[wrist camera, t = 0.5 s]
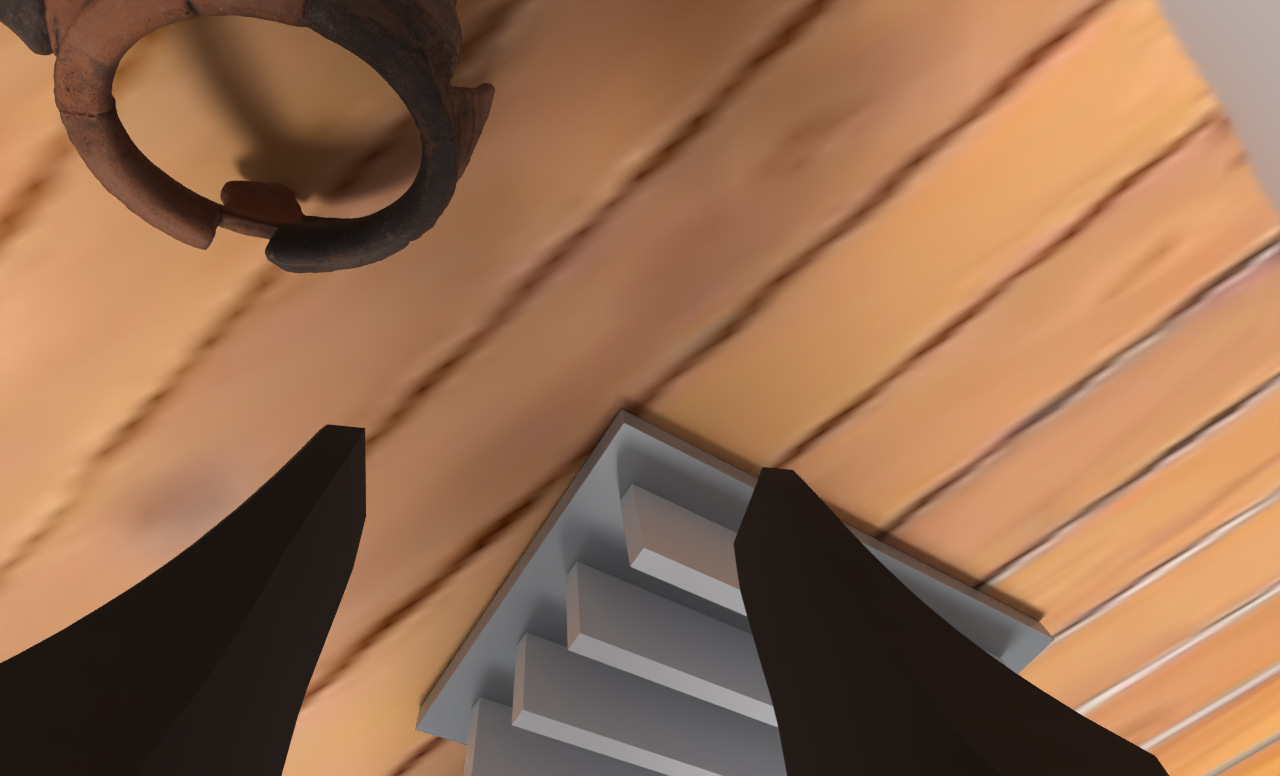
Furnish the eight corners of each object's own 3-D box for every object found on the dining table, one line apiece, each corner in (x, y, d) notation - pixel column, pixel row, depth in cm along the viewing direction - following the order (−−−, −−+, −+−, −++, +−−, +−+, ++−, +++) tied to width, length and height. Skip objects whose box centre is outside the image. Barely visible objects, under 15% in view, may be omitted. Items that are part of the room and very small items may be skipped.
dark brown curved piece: (519, -160, 17) (556, 15, 13) (436, 146, 24) (443, 331, 20) (-155, -478, 12) (-490, -368, 8) (-20, 30, 19) (-155, 248, 14)
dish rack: (819, 834, 36) (853, 932, 32) (419, 708, 29) (398, 814, 25) (1040, 622, 31) (1113, 707, 27) (621, 409, 24) (635, 480, 20)
